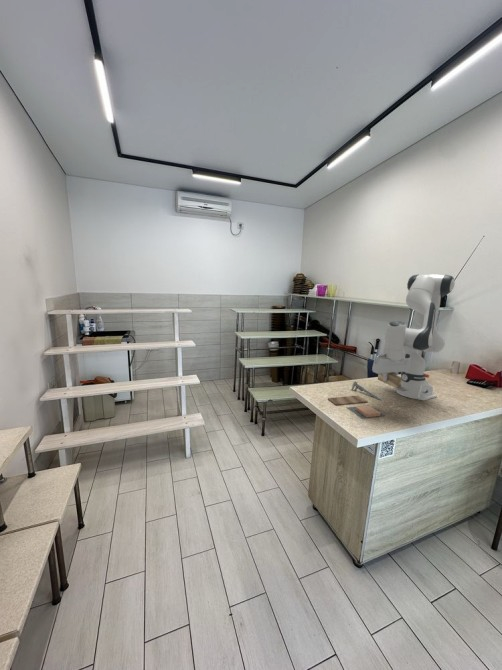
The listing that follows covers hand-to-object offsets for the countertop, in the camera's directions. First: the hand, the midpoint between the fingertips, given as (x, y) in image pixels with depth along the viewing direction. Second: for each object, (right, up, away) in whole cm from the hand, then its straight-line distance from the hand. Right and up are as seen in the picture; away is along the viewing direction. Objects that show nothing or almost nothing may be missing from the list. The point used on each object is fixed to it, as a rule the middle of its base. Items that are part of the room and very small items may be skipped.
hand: (389, 380), depth 130 cm
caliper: (-1, -13, +22) cm, 26 cm away
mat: (-12, -16, -1) cm, 20 cm away
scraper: (0, -2, -2) cm, 3 cm away
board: (-17, -14, +11) cm, 25 cm away
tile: (-13, -14, +1) cm, 19 cm away
